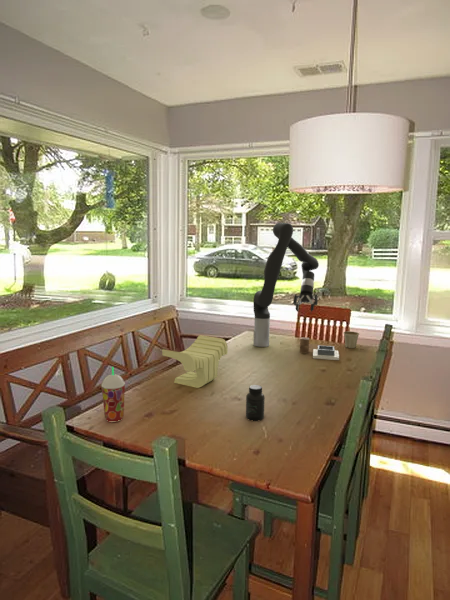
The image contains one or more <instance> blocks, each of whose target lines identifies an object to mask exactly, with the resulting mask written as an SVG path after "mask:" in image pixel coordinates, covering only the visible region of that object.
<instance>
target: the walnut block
mask: <svg viewBox="0 0 450 600" xmlns="http://www.w3.org/2000/svg"><path fill="white" fill-rule="evenodd" d="M309 351H310V337H300V338H299V353H302V354H303V353H304V354H309V353H310V352H309Z"/></svg>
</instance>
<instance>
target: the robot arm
mask: <svg viewBox="0 0 450 600" xmlns="http://www.w3.org/2000/svg"><path fill="white" fill-rule="evenodd" d="M272 233H273V235H274V236H275V237H276V238H277V239H278V241H277V244H276V245H275V247H274V249H273V250H272V251H271V252H270V254H269V255H268V256H267V259H266V262H265V267H264V270H263V271H264V273H263V274H264V276H263V279H264V282H263V286H262V288H261V290H258V291H256V292H255V293H254V296H253V313H254V314H253V315H254V327H253V328H254V329H253V340H252V341H253V344H252V346H254V347H260V348H266V347H269V346H270V329H271V328H270V327H271V326H270V325H271V324H270V323H271V313H270V311H269V306H271V304H272V303H273V299H274V294H275V289H276V284H277V282H278V278H279V275H280V272H281V268H282V265H283V261H284V258H285V255H286V252H287V249H289V251H291V252H292V254H293V255H294V256H295V257H296V258H297V260H298V261H299V262H301V270H302V280H301V284H300V285H301V286H300V293H299V295H297V294H295V295H294V296H293V297H294V298H293V303H292V304H293V306H295V311H296V312H299V311H300V306H301V305H302V304H303V303H309V304H310V312H313V311H314V310H315V309H314V308H315V306H317V305H318V303H319V297H318V294H313V293H314V287H315V282H314V281H315V273H314V272H313V270H317V269H318V268H319V263H320V262H319V261H318V259H317V258H316V257H315V256H313V255H312V254H310V253H309V252H308V251H307V250H306V249H305V248H304V246H303V245H302V244H301V243H300V242H298V241H297V240H295V239H294V238H293V233H294V227H293V225H292V224H291V223H288V222H286V223H285V222H277V223H275V224H274V225H273V229H272ZM313 299H314V301H313Z"/></svg>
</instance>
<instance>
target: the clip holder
mask: <svg viewBox="0 0 450 600" xmlns="http://www.w3.org/2000/svg"><path fill="white" fill-rule="evenodd" d="M312 359H319V360H329V361H330V360H332V361H333V360H334V361H340V354H339V350H336V349H335V346H333V345H317V348H313V349H312Z"/></svg>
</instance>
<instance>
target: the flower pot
mask: <svg viewBox="0 0 450 600" xmlns="http://www.w3.org/2000/svg"><path fill="white" fill-rule="evenodd" d="M342 333H343V336H344V346H345V348H349V349H355V348H357V343H358V339H359V335H360V332H358V331H350V330H349V331H348V330H347V331H343V332H342Z"/></svg>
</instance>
